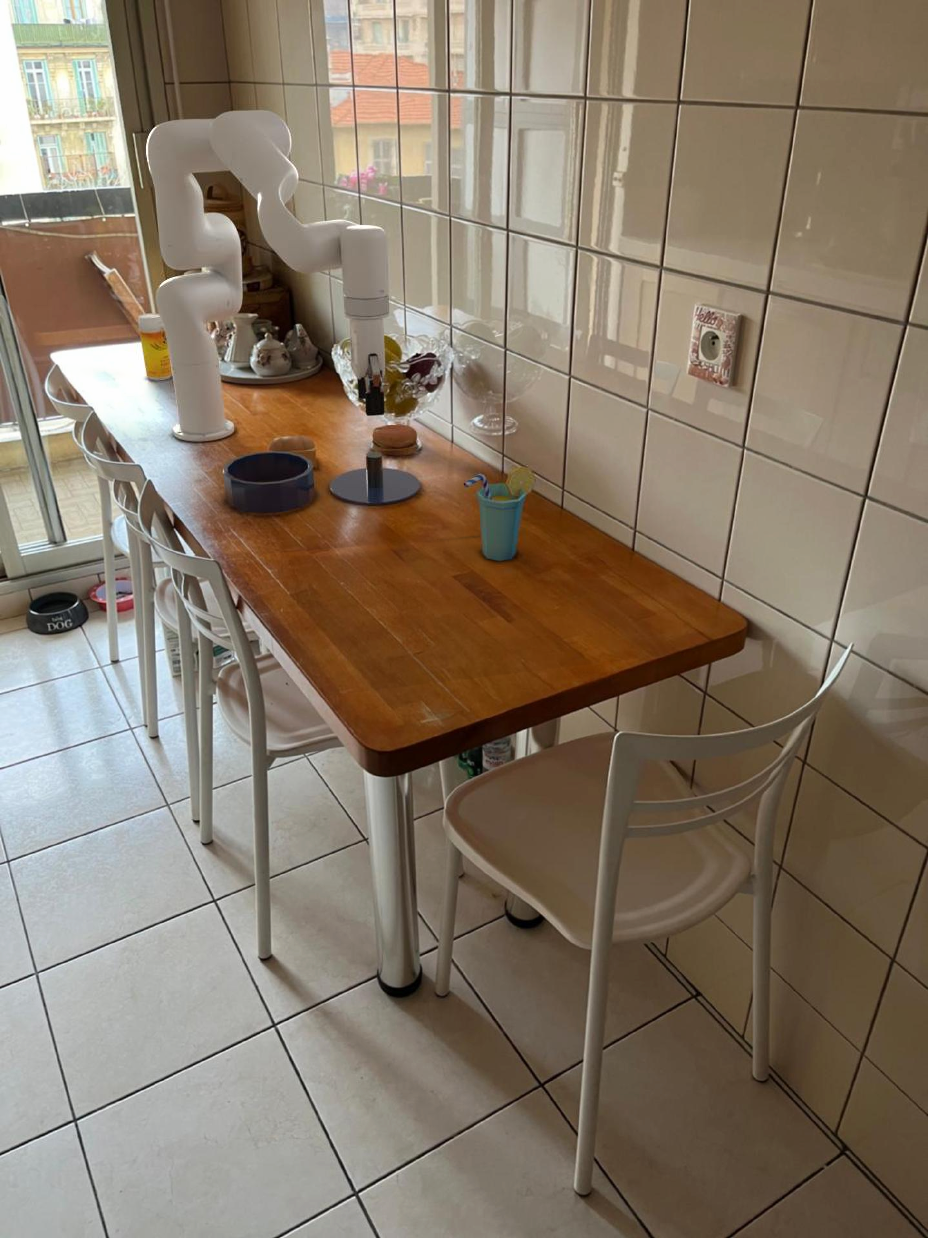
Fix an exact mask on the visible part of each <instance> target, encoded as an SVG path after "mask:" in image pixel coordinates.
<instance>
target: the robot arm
mask: <svg viewBox="0 0 928 1238" xmlns="http://www.w3.org/2000/svg"><path fill="white" fill-rule="evenodd" d="M146 141H147V142H146V158H147V164H148V169H149V172H150V173H149V174H150V175H151V179H152V183H153V187H154V192H155V206H156V219H157V229H158V242H159V249H160V254H161V258H162V260H163V262H164V263H165V265H166V266H167V267H168V268H170V269H173V270H176V271H177V270H178V271H189V270H196V269H202V268H206V271H203V272H197V273H190V274H189V273H188V274H184V275H183V274H182V275H177V276H174V277H171V278H168V279H166V280H165V281H163V282H162V283H161V284H160V285H159V286H158V288H157V289H156V293H155V304H156V308H157V312H158V314H160V317H161V320H162V323H163V326H164V330H165V334H166V338H167V343H168V349H169V356H170V363H171V370H172V375H171V376H172V382H173V387H174V389H173V390H174V394H175V401H176V402H175V403H176V408H177V415H178V420H179V422H178V423H176V424H175V425H173V427H172V434H173V436H174V437H176V438H177V439H179V440H182V441H185V442H210V441H212V442H213V441H217V440H221V439H224V438H227V437H229V436H231V435H232V434H233V433H234V432H235V424H234V422H232V421H231V420H228V419H226V409H225V402H224V401H225V400H224V394H223V392H224V391H223V384H222V376H221V368H220V360H219V353H218V347H217V344H216V341H215V340H214V338H213V336H211V334H210V333H209V332H208V330H207V329H206V328H205V325H208V324H210V323H215V322H219V321H224V320H228V319H231V318H233V317H235V316H236V315H237V314H238V313H239V312H240V310H241V308H242V305H243V298H244V297H243V296H244V295H243V264H242V263H243V262H242V261H243V259H242V245H241V238H240V235H239V233H238V230H237V228H236V226H235V224H234V223H233V221H232V220H231V219H230V218H229V217H228V216H226V215H225V214H223V213H219V212H207V213H206V212H205V209H204V208H205V207H204V194H203V191H202V188H201V186H200V184H199V182H198V180H197V178H196V177H195V176H194V174H196V173H214V172H215V173H216V172H229V171H230V172H231V173H232V175H233V176H234V177H235V178H236V179H237V180H238V181H239V183H240V184H241V185H242V186H243V187H244V188H245V189H246V190H247V191H248V193H249V194H250V195H251V196H252V197H253V198H254V200H256V202H257V217H258V223H259V226H260V229H261V233H262V235H263V237H264V239H265V241H266V243H267V244H268V245H269V246H270V248H271V249H272V250H273V251H274V252H275V254H276V255H278V257H279V258H280V259H281V260H282V262H284V263H285V264H286V265H287V266H288V267H289V268H291V270H293V271H295V272H296V273H299V274H304V275H310V274H316V273H317V274H318V273H322V272H326V271H332V270H338V269H341V276H342V277H341V278H342V293H343V310H344V317H345V318H347V319H349V346H350V347H349V348H350V349H349V350H350V368H351V370H352V373H353V374H354V376H355V378H356V380H357V381H356V383H357V397H358V399H359V400H364V405H365V407H364V408H365V415H366V416H367V417H372V416H373V417H375V416H384V415H385V414H386V413H385V411H386V409H385V407H386V406H385V391H384V386H383V378H384V377H385V375H386V350H385V349H386V348H385V328H384V319H386V318H388V317H389V316H390V292H389V271H388V270H389V264H388V239H387V233H386V231H385V229H384V228H382V227H380V226H377V225H368V224H358V223H355V222H353V221H350V220H346V219H333V220H332V219H331V220H323V221H316V222H315V221H314V222H308V223H303V224H302V223H301V222H300V221H299V220H298V219H297V218H296V217H295V216H294V215H293V214H292V213H291V212H290V210H289V209H288V208H287V206H286V204H287V203H288V202H289V201H290V200H291V199H292V197H293V195H294V194H295V192H296V191H297V187H298V184H299V172H298V170H297V168H296V166H295V165H294V164H293V163H292V162H291V161H290V160H289V159H288V156H289V155H290V153H291V151H292V150H291V149H292V135H291V131H290V130H289V128H288V125H287V124H286V122H285V120H284V119H282V118H281V116H280V115H278V114H277V113H275V112H273V111H271V110H266V109H254V110H251V109H250V110H248V109H247V110H230V111H225V112H222V113H221V114H219V115H218V116H216V117H215V118H187V119H186V118H185V119H175V120H174V119H173V120H169V121H164V122H162V123H159V124H158V125H156V126H155V127H154V128H152V130H151V131H150V132H149V135H148V138H147V140H146Z"/></svg>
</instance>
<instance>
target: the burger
mask: <svg viewBox="0 0 928 1238" xmlns="http://www.w3.org/2000/svg"><path fill="white" fill-rule="evenodd" d="M396 424H397V425H388V424H385V425H381V426H377V427H375V428H374V429H373V431H372V441H371V442H372V450H373V452H380V453H382V456H389V455H390V456H409V455H412V454H414V453H416V452H417V451H418V449H419V444H418V442H417V441H418V433H417V430H416V429H415V428H414V427H412V426H410V425H407V424H402V423H396Z"/></svg>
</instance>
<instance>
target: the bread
mask: <svg viewBox="0 0 928 1238" xmlns="http://www.w3.org/2000/svg"><path fill="white" fill-rule="evenodd" d="M268 444H269V445H268V446H269V447H268V450H269V451H268V452H270V451H280V452H291V453H295V454H299V455H302V456H305V457H306V458H308V459H309V460H311V461H312V465H313V469H314V468H317V467H318V462H317V451H316V444H315V442H314V440H313V439H311V437H309V436H307V435H290V436H289V435H288V436H278V437H275V438H274V439H273V440H272V441H271V442H270V443H268Z"/></svg>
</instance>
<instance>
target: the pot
mask: <svg viewBox="0 0 928 1238" xmlns="http://www.w3.org/2000/svg"><path fill="white" fill-rule="evenodd" d="M222 475H223V483H224V493H225V498H226V503H227V504H228V505H229V506H231V507H232V508H233V509H236V510H238V511H239V512H244V513H252V514H277V513H279V514H280V513H284V512H288V511H293V510H297V509H299V508H302V507H304V506H305V505H307V504H309V503H311V502H312V501H313V499H314V498H315V496H316V488H315V476H314V475H315V474H314V468H313V465H312V461H311V460H309V459H308V458H306V457H305V456H302V455H299V454H295V453H291V452H280V451H257V452H251V453H247V454H242V455H240V456H238V457H234V458H232V459H230V460H229V461H228V462H227V463H226V464H225V465H223V467H222Z"/></svg>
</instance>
